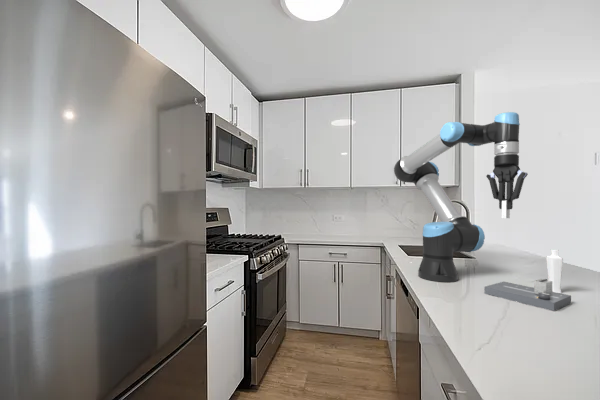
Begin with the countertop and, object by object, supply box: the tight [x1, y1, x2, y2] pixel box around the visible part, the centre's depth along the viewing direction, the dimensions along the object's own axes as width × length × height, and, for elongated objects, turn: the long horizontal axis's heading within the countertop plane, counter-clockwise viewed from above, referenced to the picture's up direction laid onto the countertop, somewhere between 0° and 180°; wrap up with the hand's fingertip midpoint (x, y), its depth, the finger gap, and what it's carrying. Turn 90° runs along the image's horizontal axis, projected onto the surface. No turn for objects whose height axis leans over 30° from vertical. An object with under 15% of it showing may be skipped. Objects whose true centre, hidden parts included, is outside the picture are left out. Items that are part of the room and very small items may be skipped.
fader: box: [533, 278, 552, 294], centre depth 92 cm, size 3×5×4 cm, turn 122°
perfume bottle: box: [546, 249, 564, 294], centre depth 104 cm, size 5×4×15 cm
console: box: [483, 281, 572, 312], centre depth 96 cm, size 19×14×4 cm
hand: (505, 218), depth 107 cm, fingers closed
